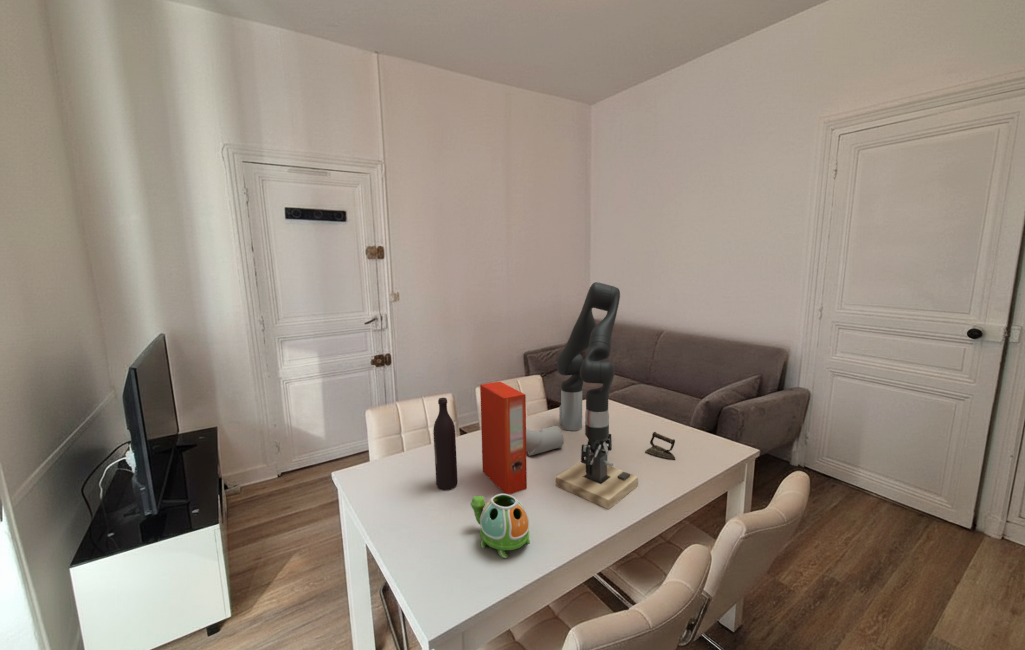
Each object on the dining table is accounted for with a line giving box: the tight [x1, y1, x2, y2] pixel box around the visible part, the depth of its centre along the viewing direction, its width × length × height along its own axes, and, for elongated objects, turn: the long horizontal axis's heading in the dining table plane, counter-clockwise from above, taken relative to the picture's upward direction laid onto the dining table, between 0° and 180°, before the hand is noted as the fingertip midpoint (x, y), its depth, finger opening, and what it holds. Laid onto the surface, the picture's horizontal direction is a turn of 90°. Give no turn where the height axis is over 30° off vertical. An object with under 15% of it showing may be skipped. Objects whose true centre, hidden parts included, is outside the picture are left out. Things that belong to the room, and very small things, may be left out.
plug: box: [587, 451, 614, 484], centre depth 133 cm, size 8×4×10 cm, turn 46°
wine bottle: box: [432, 397, 458, 491], centre depth 135 cm, size 7×7×30 cm
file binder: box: [479, 381, 528, 495], centre depth 137 cm, size 8×17×32 cm, turn 29°
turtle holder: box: [470, 493, 531, 559], centre depth 109 cm, size 12×18×12 cm
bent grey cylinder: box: [526, 425, 565, 457], centre depth 162 cm, size 18×10×20 cm
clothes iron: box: [644, 431, 676, 461], centre depth 154 cm, size 7×11×10 cm, turn 39°
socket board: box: [554, 461, 639, 510], centre depth 135 cm, size 20×18×4 cm
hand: (596, 469), depth 134 cm, fingers open, 8 cm apart
